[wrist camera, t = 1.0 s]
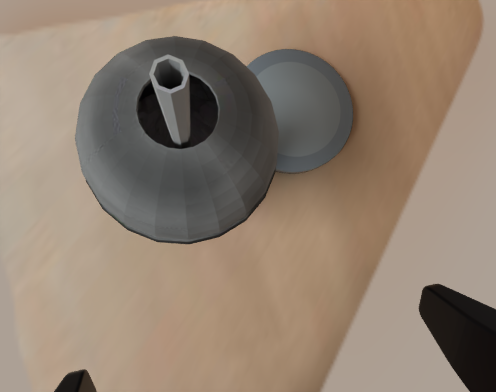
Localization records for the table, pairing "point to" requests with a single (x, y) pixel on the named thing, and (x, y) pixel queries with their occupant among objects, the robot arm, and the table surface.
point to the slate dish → (305, 107)
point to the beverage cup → (177, 140)
